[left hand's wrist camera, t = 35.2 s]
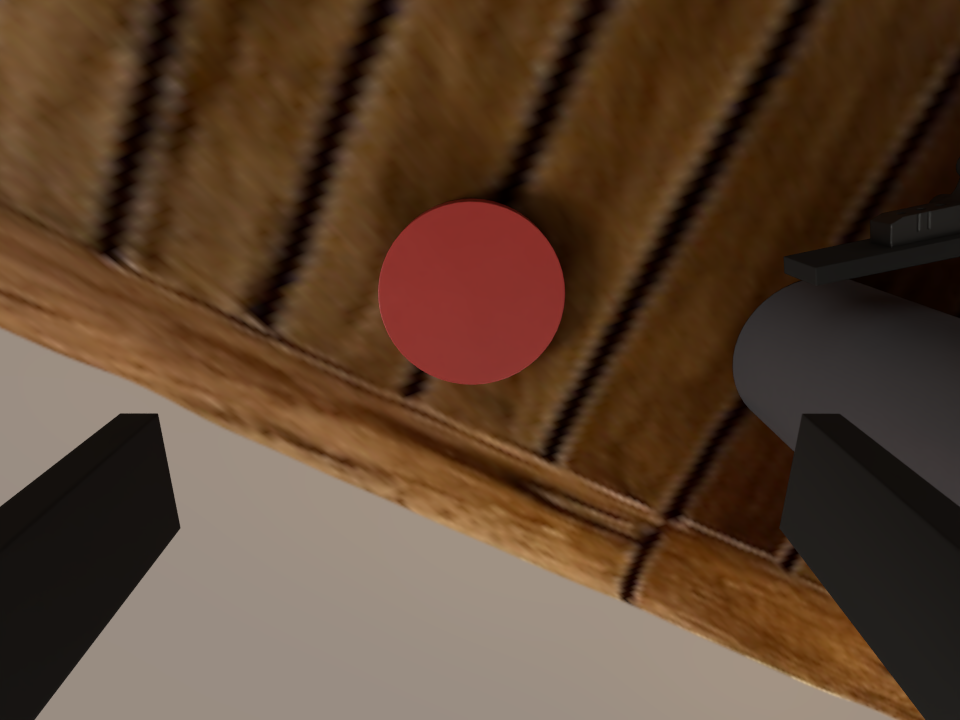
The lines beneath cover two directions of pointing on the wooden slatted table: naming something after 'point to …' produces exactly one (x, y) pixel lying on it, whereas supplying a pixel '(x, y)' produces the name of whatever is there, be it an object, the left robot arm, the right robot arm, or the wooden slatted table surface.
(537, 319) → the lid
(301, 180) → the wooden slatted table surface
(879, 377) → the jar
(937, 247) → the right robot arm
